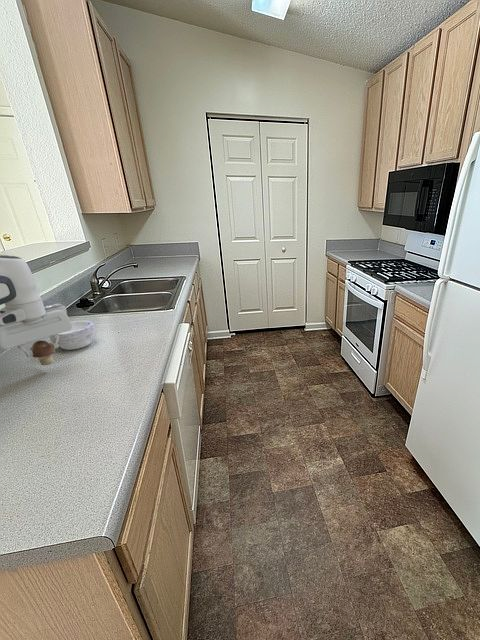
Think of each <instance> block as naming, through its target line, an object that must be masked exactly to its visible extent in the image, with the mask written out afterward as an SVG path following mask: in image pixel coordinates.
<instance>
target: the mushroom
mask: <svg viewBox="0 0 480 640" xmlns="http://www.w3.org/2000/svg"><path fill="white" fill-rule="evenodd" d="M29 350H32V352H33V354H34V356H32V358H37V359H38V361H39V364H40V366H49V365H51V364H53V363H55V360H54V357H53V354H54V353H55V352H56V349H54V347H53V345H52V344H51V342H48V341H46V340H44V339H39V340H36V341H34V342H33V344H32V346H31V347H29Z"/></svg>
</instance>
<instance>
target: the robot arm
mask: <svg viewBox="0 0 480 640" xmlns="http://www.w3.org/2000/svg"><path fill="white" fill-rule="evenodd" d="M1 305H4V307H2V308H0V350H2V351H3V350H4V351H6V350H9V349H12V348H13V349H14V348H15V347H17V348H18V349H19V350H21V351H22V352H23V353H24V354H25V356H26V358H31V357H33V356H34V354H33V352H32V350H30V349H26V344H30V343H32V342H33V343H34V342H36V341H39V340H44V339H45V338H49V336H52V337H53V342H52V343H51V342H50V343H51V344H52V345H53V347H54V350H56V349H58V348H60V346H58V340H59V333H63V332H66V331H70V330H71V329H72V324H71V322H72V321H71V320H70V317H69V316H68V310H67V308H66V306H65V305H64V304H61V303H58V302H57V303H53V304H48V305H44V302H43V299H42V296H41V295H40V294H39V293H38V290H37V282H36V280H35V278H34V275H33V273H32V271H31V268H30V266H29V264H28V263H27V262H26V260H25V259H23V258H22V257H19V256H17V255H16V256H15V255H7V254H5V255H4V254H0V306H1Z"/></svg>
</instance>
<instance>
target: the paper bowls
mask: <svg viewBox="0 0 480 640" xmlns="http://www.w3.org/2000/svg"><path fill="white" fill-rule="evenodd" d="M71 324H72V329H71V330H70V331H66V332H63V333H59V340H58V346H59V348H61V349H62V350H67V351H69V350H70V351H72V350H79V349H82V348H85V347H87V346H89V345H90V344H91V343H92V341H93V339H94V338H95V337H96V336H97V330H96V328H95V325H94V323H93V322H92V321H91V320H74V321H71ZM48 339H49V340H50V343H52V342H53V337H52V336H49V337H48Z"/></svg>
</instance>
